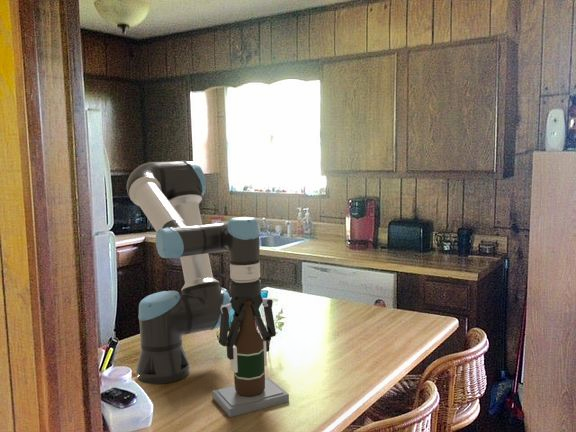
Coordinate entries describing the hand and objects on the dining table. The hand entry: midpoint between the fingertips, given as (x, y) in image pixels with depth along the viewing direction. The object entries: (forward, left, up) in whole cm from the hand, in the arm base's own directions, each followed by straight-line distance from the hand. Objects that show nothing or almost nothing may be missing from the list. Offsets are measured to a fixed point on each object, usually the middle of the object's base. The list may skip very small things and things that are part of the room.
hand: (249, 367), depth 136 cm
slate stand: (0, 0, -9) cm, 9 cm away
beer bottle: (0, 0, -6) cm, 6 cm away
